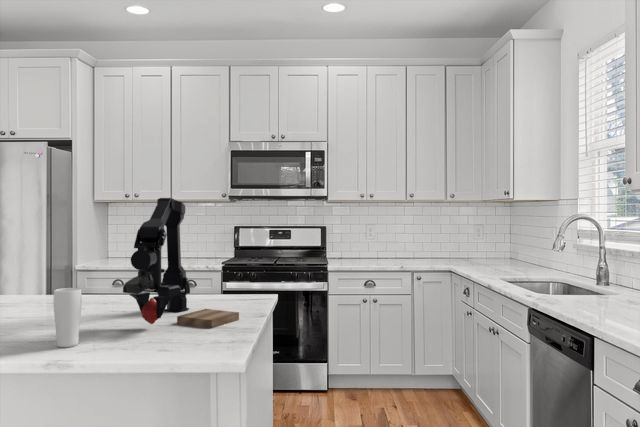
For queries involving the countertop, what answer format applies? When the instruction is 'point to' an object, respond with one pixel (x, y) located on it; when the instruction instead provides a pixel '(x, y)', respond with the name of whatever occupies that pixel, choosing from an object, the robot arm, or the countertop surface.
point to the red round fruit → (150, 311)
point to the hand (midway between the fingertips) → (151, 317)
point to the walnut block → (208, 318)
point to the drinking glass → (67, 316)
